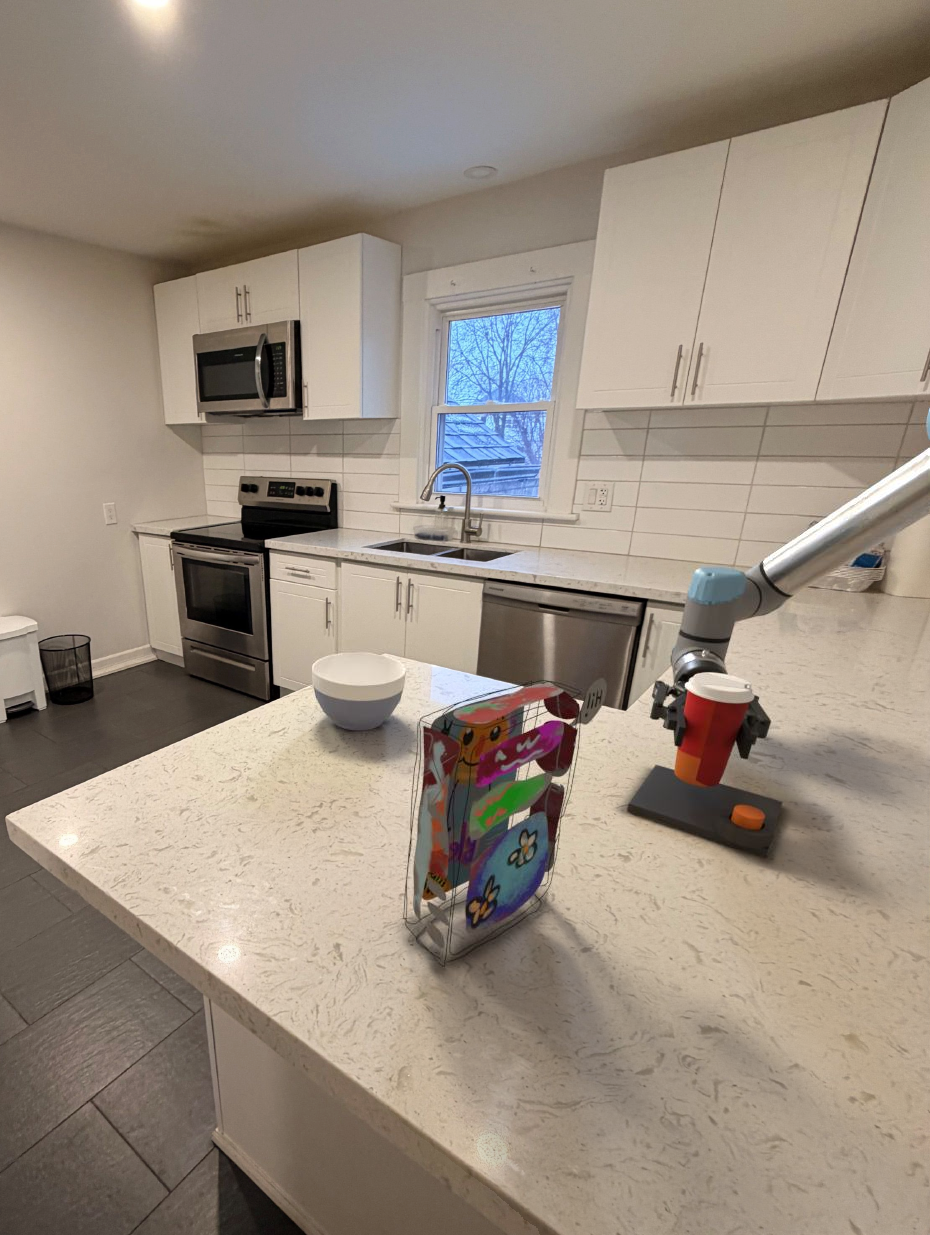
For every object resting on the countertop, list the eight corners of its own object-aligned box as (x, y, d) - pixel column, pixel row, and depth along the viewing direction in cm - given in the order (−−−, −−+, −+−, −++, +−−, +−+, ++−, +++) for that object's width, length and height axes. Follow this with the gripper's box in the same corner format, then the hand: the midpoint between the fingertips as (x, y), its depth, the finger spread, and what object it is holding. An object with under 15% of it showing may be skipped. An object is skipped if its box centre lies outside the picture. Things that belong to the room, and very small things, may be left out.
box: (552, 846, 79) (585, 658, 69) (597, 872, 74) (639, 675, 64) (400, 932, 65) (415, 714, 55) (444, 971, 60) (469, 740, 51)
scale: (780, 809, 87) (787, 790, 86) (765, 863, 76) (772, 842, 75) (653, 771, 96) (658, 753, 95) (624, 814, 85) (628, 795, 84)
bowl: (293, 716, 112) (292, 665, 109) (358, 694, 122) (359, 646, 118) (355, 749, 101) (357, 693, 98) (422, 721, 111) (425, 669, 108)
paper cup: (731, 772, 89) (758, 678, 83) (726, 797, 83) (755, 698, 77) (669, 757, 93) (691, 666, 87) (660, 779, 87) (683, 684, 81)
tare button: (762, 822, 79) (766, 810, 78) (759, 834, 77) (763, 822, 76) (733, 813, 81) (736, 801, 80) (728, 824, 79) (732, 812, 78)
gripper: (637, 649, 102) (633, 701, 83) (782, 669, 94) (815, 731, 75) (627, 693, 105) (622, 752, 86) (767, 715, 97) (796, 786, 78)
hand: (712, 742), depth 81 cm, fingers closed on paper cup, 7 cm apart
